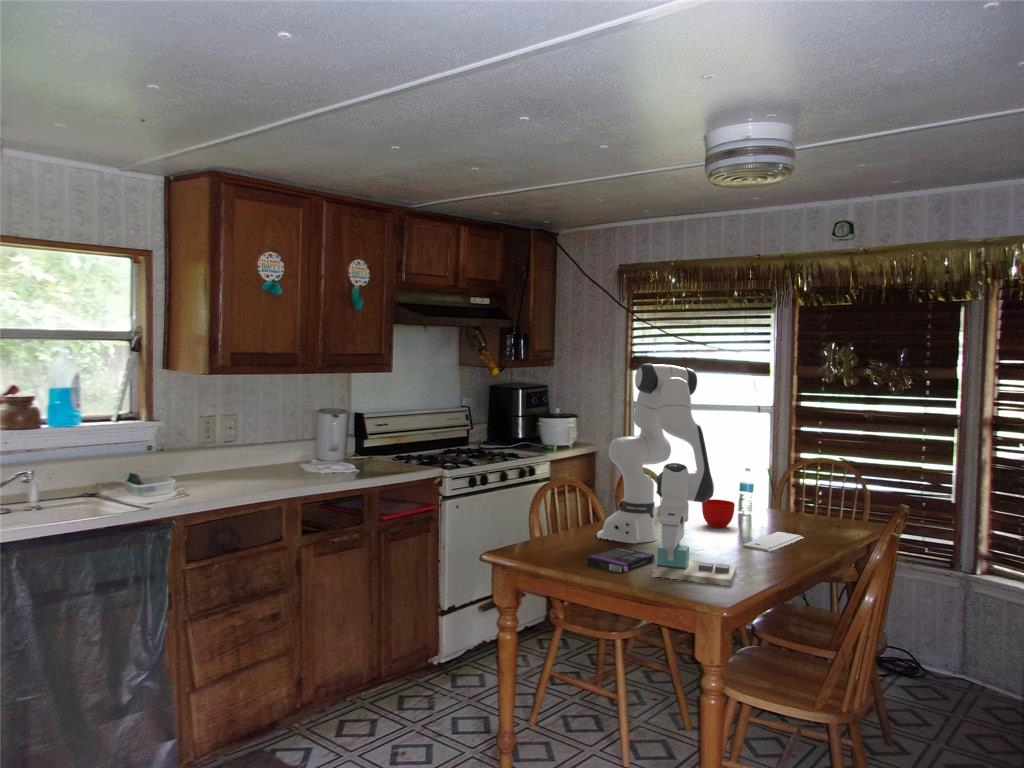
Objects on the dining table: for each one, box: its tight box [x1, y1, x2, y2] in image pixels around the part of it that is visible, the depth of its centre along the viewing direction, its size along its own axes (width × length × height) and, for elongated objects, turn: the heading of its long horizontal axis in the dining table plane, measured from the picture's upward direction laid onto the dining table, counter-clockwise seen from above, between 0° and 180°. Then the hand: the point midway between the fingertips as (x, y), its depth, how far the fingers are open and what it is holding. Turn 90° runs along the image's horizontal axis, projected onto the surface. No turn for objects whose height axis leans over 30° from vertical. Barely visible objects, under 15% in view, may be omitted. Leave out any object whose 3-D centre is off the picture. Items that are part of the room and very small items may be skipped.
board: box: [651, 559, 737, 587], centre depth 253 cm, size 24×18×2 cm
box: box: [587, 546, 655, 574], centre depth 265 cm, size 14×4×20 cm
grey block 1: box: [699, 561, 714, 572], centre depth 252 cm, size 4×4×2 cm
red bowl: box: [701, 499, 735, 529], centre depth 327 cm, size 13×17×10 cm
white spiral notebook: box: [742, 531, 806, 553], centre depth 298 cm, size 31×3×12 cm
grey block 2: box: [715, 563, 731, 573], centre depth 250 cm, size 4×4×2 cm
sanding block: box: [656, 542, 690, 570], centre depth 256 cm, size 9×6×6 cm
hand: (673, 557), depth 256 cm, fingers closed on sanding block, 6 cm apart
